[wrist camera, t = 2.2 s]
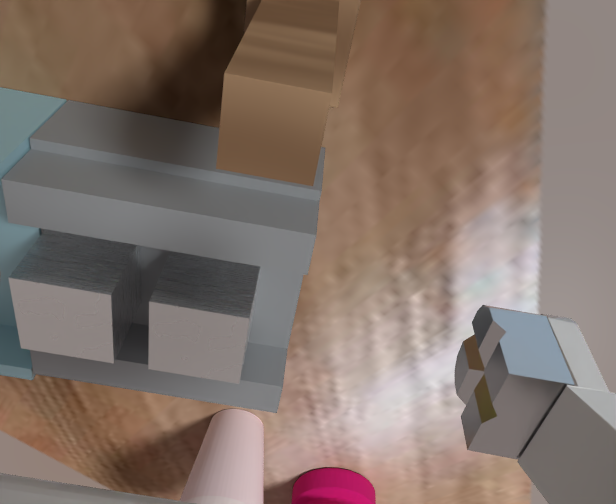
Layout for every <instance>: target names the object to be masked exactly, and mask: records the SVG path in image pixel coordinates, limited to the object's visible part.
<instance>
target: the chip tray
mask: <svg viewBox="0 0 616 504" xmlns="http://www.w3.org/2000/svg"><path fill="white" fill-rule="evenodd" d="M65 103H66V99H60V98H55V97H50V96H44V95H39V94H34V93H28V92H23V91H17V90H12V89H7V88H1V87H0V273H1V275H0V375H4V376H10V377H16V378H23V379H29V380H33V379H34V377H35V375H36V374H34V373H33V367H32V361H31V355H30V350H28V349H22V348H21V346H20V340H19V335H18V329H17V323H16V318H15V312H14V307H13V301H12V295H11V290H10V284H9V279H8V277H9V276H10V275H11V273H12V272H13V271H14V269H15V268H16V267H17V266H18V264H19V263H20V262H21V260H22V259H23V258H24V256H25V255H26V254H27V252H28V251H29V250H30V248H31V247H32V246H33V244H34V243H35V242H36V240H37V239H38V238H39V237H40V235H41V234H42V232H41V228H36V227H30V226H24V225H19V224H13V223H8V217H7V211H6V205H5V199H4V193H3V187H2V181H1V179H2V178H3V177H4V176H5V175H6V174H7V173H8V172H9V171H10V170H11V169H12V168H13V167H14V166H15V165H16V164H17V163H18V162H19V161H20V160H21V159H22V158H23V156H24V155H25V154H26V153H27V152H28V151H29V150H30V149H31V146H30V137H31V136H32V135H33V134H34V133H35V132H36V131H37V130H38V129H39V128H40V127H41V126H42V125H43V124H44V123H45V122H46V121H47V120H48V119H49V118H51V117H52V116H53V115H54V114H55V113H56V112H57V111H58V110H59V109H60V108H61V107H62V106H63V105H64V104H65Z"/></svg>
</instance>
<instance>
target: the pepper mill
mask: <svg viewBox="0 0 616 504" xmlns="http://www.w3.org/2000/svg"><path fill="white" fill-rule="evenodd" d="M292 504H375V490H374V487H373V486H372V484H371V483H370V482H369V480H367V479H366V478H365V477H363V476H362V475H360V474H358V473H356V472H353V471H350V470H346V469H340V468H322V469H316V470H313V471H310V472H307V473H305V474H304V475H302V476H300V477H299V479H298V480H297V481H296V482H295V484H294V486H293V492H292Z"/></svg>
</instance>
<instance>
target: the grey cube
mask: <svg viewBox="0 0 616 504" xmlns="http://www.w3.org/2000/svg"><path fill="white" fill-rule="evenodd" d="M260 268H261V267H259V266H254V265H248V264H242V263H236V262H231V261H225V260H219V259H214V258H208V257H202V256H196V255H191V254H185V253H179V252H173V251H170V254H169V256H168V258H167V261H166V263H165V265H164V268H163V270H162V272H161V275H160V277H159V279H158V282H157V284H156V286H155V289H154V291H153V293H152V296H151V298H150V301H149V357H148V369H151V370H157V371H163V372H169V373H175V374H181V375H187V376H193V377H199V378H206V379H212V380H218V381H224V382H230V383H236V384H239V383H240V378H241V373H242V368H243V363H244V358H245V353H246V349H247V344H248V339H249V334H250V329H251V324H252V318H253V312H254V306H255V299H256V293H257V287H258V280H259V274H260Z"/></svg>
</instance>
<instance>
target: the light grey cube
mask: <svg viewBox="0 0 616 504" xmlns="http://www.w3.org/2000/svg"><path fill="white" fill-rule="evenodd" d="M8 279H9V284H10V290H11V295H12V301H13V307H14V312H15V318H16V323H17V329H18V335H19V340H20V346H21V348H22V349H28V350H35V351H41V352H47V353H53V354H59V355H65V356H71V357H77V358H83V359H90V360H96V361H102V362H108V363H114V362H115V360H116V358H117V355H118V353H119V351H120V349H121V346H122V344H123V342H124V340H125V337H126V335H127V333H128V331H129V328H130V326H131V324H132V322H133V319H134V317H135V315H136V312H137V310H138V308H139V306H140V303H141V246H139V245H133V244H128V243H122V242H116V241H110V240H105V239H99V238H93V237H87V236H82V235H76V234H70V233H64V232H59V231H53V230H47V229H45V230H44V231H43V233H42V234H41V235H40V237H39V238H38V239H37V240H36V242H35V243H34V244H33V246H32V247H31V248H30V250H29V251H28V252H27V254H26V255H25V256H24V258H23V259H22V260H21V262H20V263H19V264H18V266H17V267H16V268H15V269H14V271H13V272H12V273H11V275H10V276H9V277H8Z"/></svg>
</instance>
